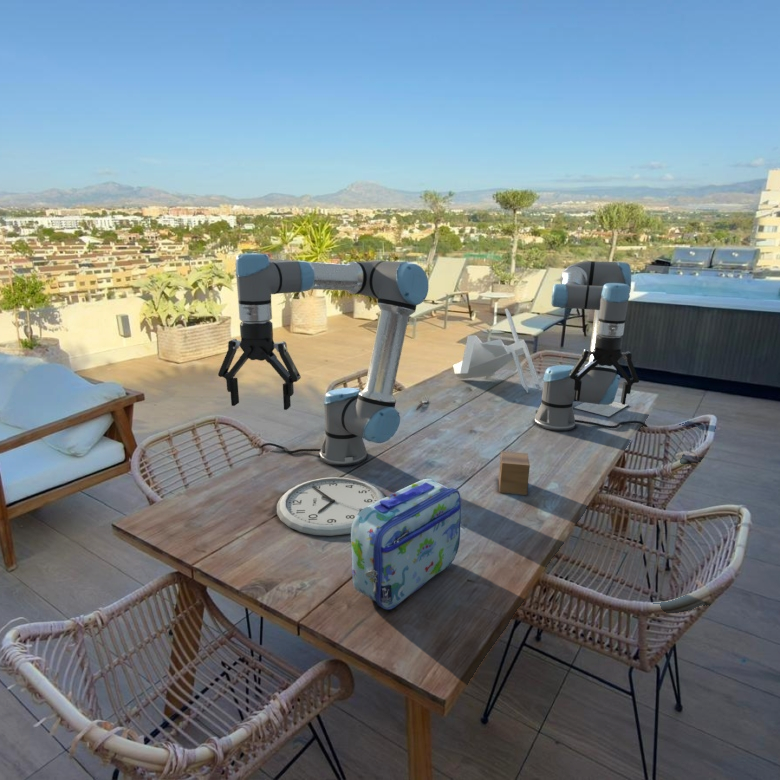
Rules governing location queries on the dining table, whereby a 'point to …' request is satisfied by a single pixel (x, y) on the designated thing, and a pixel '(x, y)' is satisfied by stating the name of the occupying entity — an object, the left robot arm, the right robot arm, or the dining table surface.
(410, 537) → the lunch box
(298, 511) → the wall clock
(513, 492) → the brown block
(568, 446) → the dining table surface
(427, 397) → the fork
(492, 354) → the white plastic object
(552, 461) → the dining table surface
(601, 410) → the invitation card
